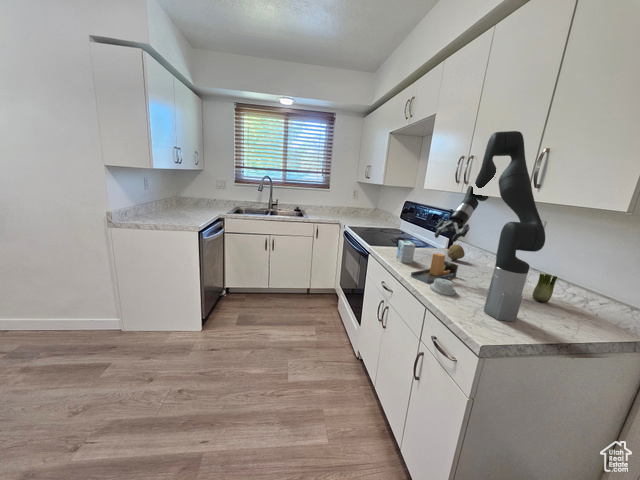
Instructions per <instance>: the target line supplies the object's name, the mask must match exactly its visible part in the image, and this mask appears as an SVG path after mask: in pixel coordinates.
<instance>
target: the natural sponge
mask: <svg viewBox="0 0 640 480" xmlns="http://www.w3.org/2000/svg"><path fill="white" fill-rule="evenodd" d="M447 257H448V258H450V259H451V260H452V261H457V260H460V259H462V258H464V257H465V250H464V247H462V246H461V245H460V244H452V245H450V246H449V247H448V251H447Z"/></svg>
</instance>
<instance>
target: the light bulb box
mask: <svg viewBox="0 0 640 480" xmlns="http://www.w3.org/2000/svg"><path fill="white" fill-rule="evenodd" d="M415 250H416V244H414V243H413V242H412V241H411V240H402V239H398V245H397V252H396V257H395V258H396V259H397V260H398V262H400V263H401V264H411V265H412V264H413V261H414V255H415Z"/></svg>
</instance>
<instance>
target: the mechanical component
mask: <svg viewBox="0 0 640 480" xmlns="http://www.w3.org/2000/svg"><path fill="white" fill-rule="evenodd" d="M454 285H455V284H454V282H453V281H451V280H449V279H441V278H436V279H434V282H431V284H430V283H429V289H430V290H431V291H433V292H434V293H437V294H439V295H443V296H455V295H456V292H457V291H456V289H455V288H454Z"/></svg>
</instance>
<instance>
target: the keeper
mask: <svg viewBox="0 0 640 480" xmlns="http://www.w3.org/2000/svg"><path fill="white" fill-rule="evenodd" d="M458 269H459V264H456V263H452V262H450V261H446V260H445V261H444V265H443V270H442V272H443V271H446V270H450V273H455V274H454V278H455V277H457V273H458Z"/></svg>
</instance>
